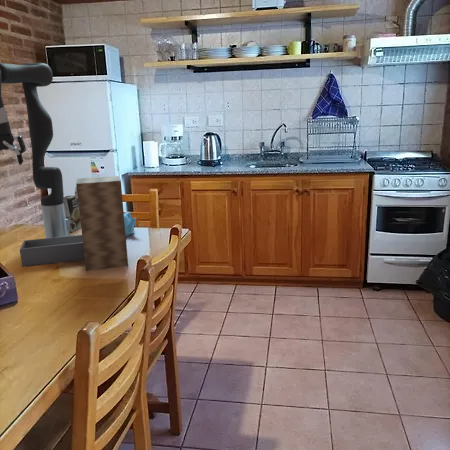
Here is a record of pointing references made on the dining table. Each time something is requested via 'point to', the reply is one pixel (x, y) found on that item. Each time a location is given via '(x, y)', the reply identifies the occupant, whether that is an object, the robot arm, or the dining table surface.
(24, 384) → the dining table surface
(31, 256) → the tray
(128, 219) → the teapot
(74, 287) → the dining table surface
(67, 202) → the coffee box
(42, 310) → the dining table surface
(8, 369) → the dining table surface
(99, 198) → the brown zigzag patterned box
